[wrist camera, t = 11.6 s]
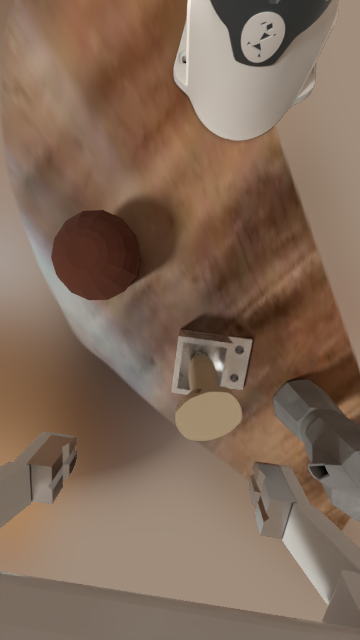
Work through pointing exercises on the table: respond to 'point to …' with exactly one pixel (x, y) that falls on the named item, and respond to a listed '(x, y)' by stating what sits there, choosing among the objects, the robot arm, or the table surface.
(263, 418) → the table surface
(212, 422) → the handle
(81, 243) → the muffin
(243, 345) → the flanged open box
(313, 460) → the coffeepot
